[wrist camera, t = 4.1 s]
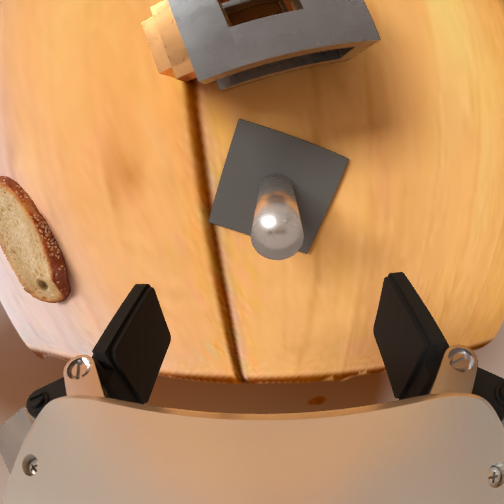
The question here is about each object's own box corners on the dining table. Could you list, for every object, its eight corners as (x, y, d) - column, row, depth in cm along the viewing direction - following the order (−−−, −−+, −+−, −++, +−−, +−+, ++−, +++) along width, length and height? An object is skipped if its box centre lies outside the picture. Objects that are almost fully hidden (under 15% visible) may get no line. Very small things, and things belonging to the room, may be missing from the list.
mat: (347, 158, 22) (348, 159, 22) (306, 251, 27) (307, 253, 27) (239, 119, 21) (238, 119, 21) (209, 220, 26) (208, 221, 26)
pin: (298, 180, 23) (311, 222, 15) (286, 210, 25) (292, 266, 16) (265, 169, 23) (260, 205, 15) (254, 199, 24) (244, 250, 16)
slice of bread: (-7, 170, 25) (-24, 178, 21) (69, 198, 26) (49, 210, 23) (4, 266, 33) (-9, 277, 30) (73, 306, 35) (61, 322, 32)
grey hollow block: (308, -28, 14) (320, -71, 7) (348, 60, 18) (380, 39, 11) (159, 17, 17) (116, -10, 10) (190, 103, 21) (153, 102, 14)
